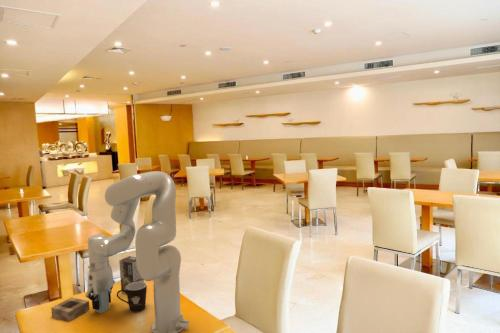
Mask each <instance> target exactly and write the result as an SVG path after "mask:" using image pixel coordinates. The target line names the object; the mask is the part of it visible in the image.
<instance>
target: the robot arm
mask: <svg viewBox="0 0 500 333" xmlns="http://www.w3.org/2000/svg"><path fill="white" fill-rule="evenodd" d="M152 195H155V197H154V199H153V203H152V206H151V221H150V222H147V223H145V224H142V225H141V226H140V227H139V228H138V229H137V231H136V224H135V221H134V216H135V212H136V211H137V207H138V206H139V202H140V200H141V198H145V197H149V196H152ZM176 196H177V188H176V184H175V182H174V179H173V178H172V177H171V176H170V175H169V174H168V173H166V172H164V171H160V170H158V171H157V170H156V171H155V170H153V171H147V172H143V173H136V174H132V175H129V176H127V177H124V178H122V179H120V180H118V181H116V182H114V183H111V184H110V185H108V187H107V188H106V190H105V192H104V199H105V202H106V203H107V204H108V206H111V207H112V209H111V212H110V218H111V219H112V221H114V222H116V223H118V224H120V225H121V227H120V230H119V232H118V233H116V234H114V235H110V236H107V235H106V234H102V233H99V234H98V233H97V234H93V235H91V236H89V237H88V239H87V247H88V248H87V251H88V263H89V264H88V265H89V266H88V269H89V270H88V274H87V276H88V277H87V289H88V290H87V291H86V293H85V295H84V296H85V298H87V299H88V300H90V301H91V305H92V307H91V308H92V310H94V311H95V310H99V300H98V295H99V294H101V293H103V292H105V291H106V290H108V295H109V304H110V303H112V297H111V294H112V290H113V288H114V285H115V283H116V281H115V280H114V273H113V270H112V266H111V264H110V260H109V258H110V257H112V256H114V255H115V256H116V255H117V254H119V253H121V252H124V251H126V250H128V249H129V248H130V246H131V245H132V243H133V241H135V242H134V243H135V257H136V265H137V271H138V274H139V276H140V277H141V278H142V279H143V280H144V281H145V282H152V281H153V301H154V304H153V305H154V320H155V321H154V322H153V323H152V324H151V327H150V328H151V332H152V333H181V332H182V331H183V330H188V329H189V323H190V321H189V320H187V319H185V318H184V315H183V314H182V313H181V311H182V310H181V292H180V288H181V287H180V272H181V271H180V270H181V265H182V264H181V263H182V256H181V255H182V254H181V252H180V250H179V249H178V248H177V247H176V246H174V245H171V244H169V243H171V242H173V241H174V240H175V239H176V236H177V216H176V215H177V214H176V212H177V210H176V201H177V200H176ZM134 237H135V238H134ZM134 239H135V240H134ZM94 294H95V297H94Z"/></svg>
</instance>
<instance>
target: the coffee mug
mask: <svg viewBox="0 0 500 333" xmlns="http://www.w3.org/2000/svg"><path fill="white" fill-rule="evenodd" d="M147 287H148V283H147V282H146V281H145V282H134V283H130V284H128V285H127V286H126V291H125V290H121V289H120V290H118V291H117V293H116V297H117V299H119V300H121V302H124V303H126V304H127V305H128V308H129V311H130V312H131V313H139V312H142V311H144V310H145V309H146V300H147ZM121 291H123V292H125V293H126V294H125V295H126V297H127V300H125V299H123V298H121V297H120V296H119V293H122V292H121Z"/></svg>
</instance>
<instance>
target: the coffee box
mask: <svg viewBox="0 0 500 333" xmlns="http://www.w3.org/2000/svg"><path fill="white" fill-rule="evenodd" d="M118 264H119V274H120V288H121V289H120V290H125V291H126V286H127V285H128V284H130V283H134V282H144V281H145V280H143V279H142V278H141V277H140V276H139V274H138V271H137V265H136V256H131V255H130V256H127V257H124V258H122V259H120V260H119V262H118ZM120 293H121V294H123V295H126V293H125V292H123V291H121V292H120Z"/></svg>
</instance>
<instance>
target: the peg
mask: <svg viewBox="0 0 500 333" xmlns="http://www.w3.org/2000/svg"><path fill="white" fill-rule="evenodd" d="M94 297H95V294H94ZM98 300H99V310H95V309H94V312H96V313H100V314H103V313H104V312H106V311H108V310H109V309H110V303H109V295H108V290H106V291H105V292H103V293H101V294H99V295H98Z"/></svg>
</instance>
